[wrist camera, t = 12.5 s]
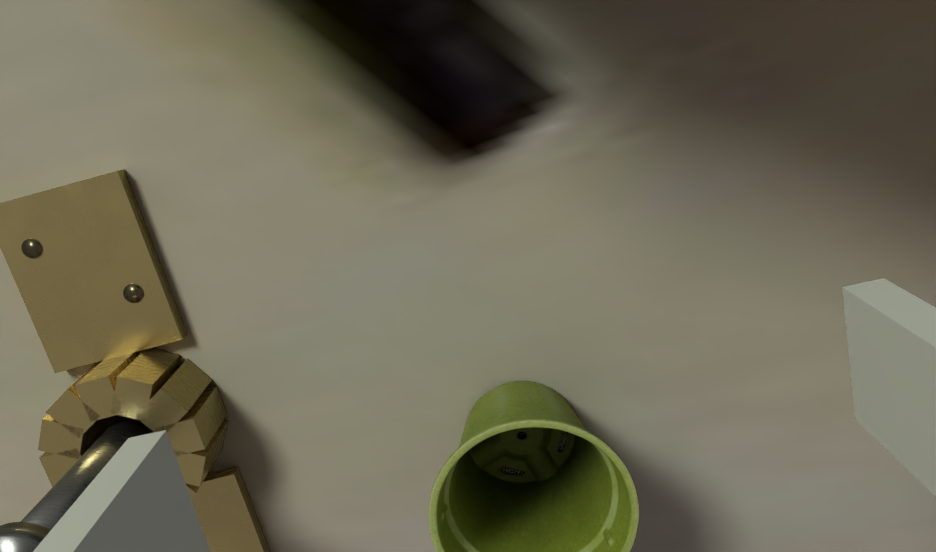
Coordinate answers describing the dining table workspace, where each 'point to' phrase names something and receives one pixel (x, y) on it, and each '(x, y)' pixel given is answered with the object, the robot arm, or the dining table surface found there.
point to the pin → (68, 488)
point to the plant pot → (531, 481)
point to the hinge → (119, 343)
